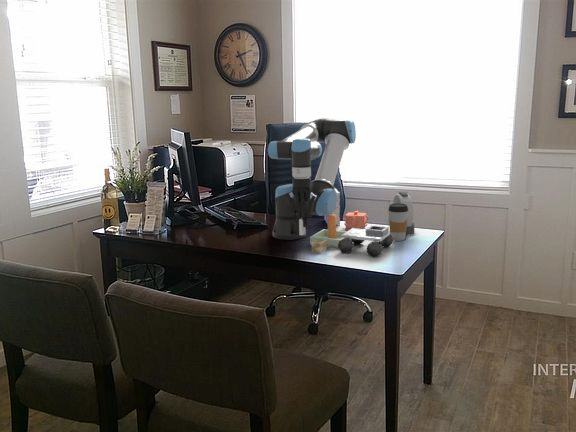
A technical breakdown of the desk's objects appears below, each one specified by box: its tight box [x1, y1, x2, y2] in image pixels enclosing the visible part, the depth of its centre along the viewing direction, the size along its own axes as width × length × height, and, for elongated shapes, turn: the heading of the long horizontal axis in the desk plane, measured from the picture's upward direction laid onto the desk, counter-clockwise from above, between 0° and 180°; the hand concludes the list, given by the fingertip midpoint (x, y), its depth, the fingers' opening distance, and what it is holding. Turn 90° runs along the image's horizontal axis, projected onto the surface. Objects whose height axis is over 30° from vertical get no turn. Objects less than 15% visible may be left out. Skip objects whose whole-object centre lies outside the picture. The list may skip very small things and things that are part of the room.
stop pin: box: [327, 214, 337, 239], centre depth 233 cm, size 4×4×11 cm
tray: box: [309, 228, 351, 249], centre depth 234 cm, size 14×14×4 cm
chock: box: [311, 239, 328, 254], centre depth 222 cm, size 4×6×4 cm, turn 153°
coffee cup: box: [388, 203, 408, 242], centre depth 235 cm, size 8×8×15 cm
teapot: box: [342, 210, 369, 231], centre depth 255 cm, size 12×15×8 cm
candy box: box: [323, 187, 341, 227], centre depth 267 cm, size 14×6×16 cm, turn 5°
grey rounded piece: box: [392, 191, 415, 236], centre depth 248 cm, size 16×10×18 cm, turn 4°
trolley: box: [337, 224, 394, 258], centre depth 221 cm, size 18×16×9 cm
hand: (302, 234), depth 225 cm, fingers closed
